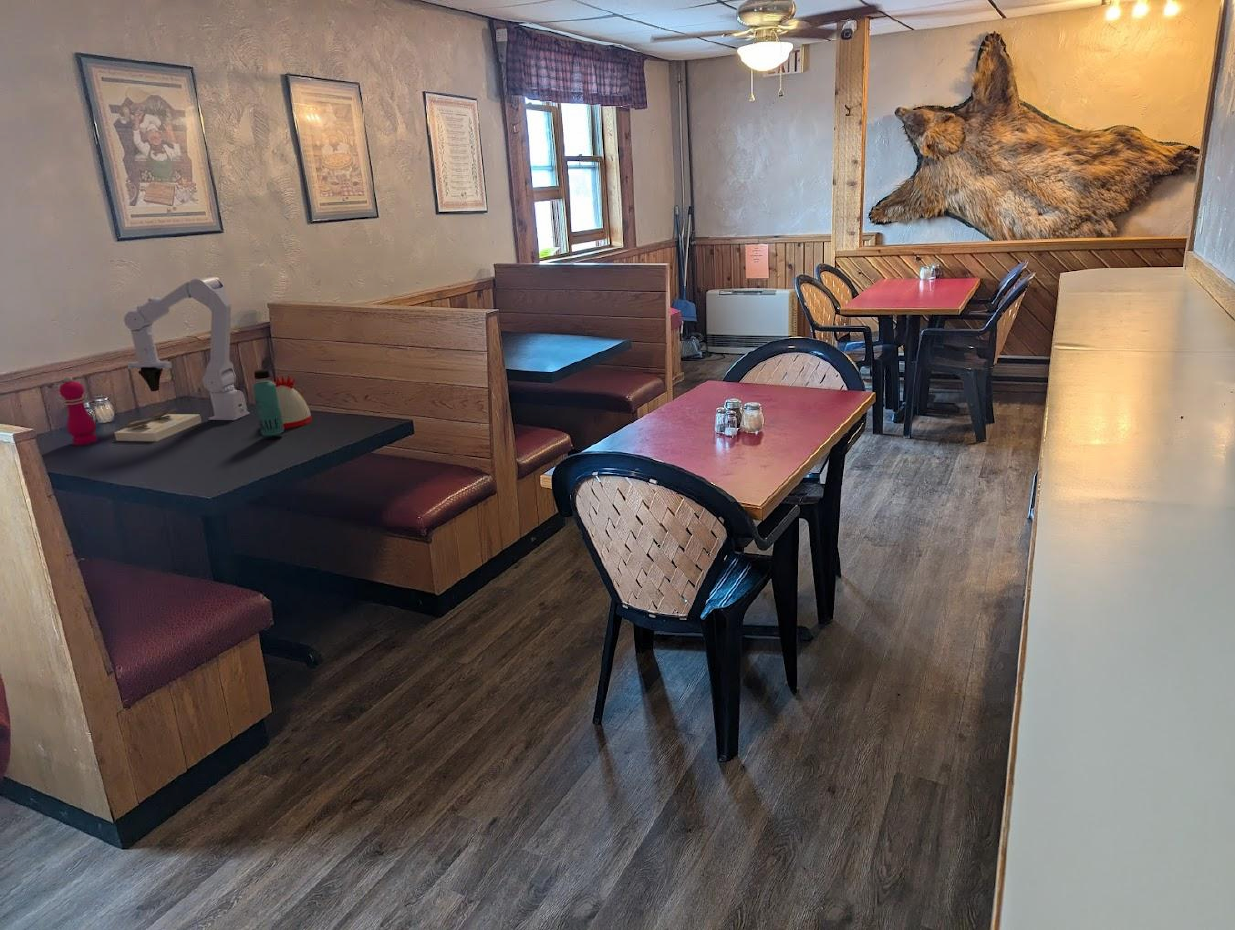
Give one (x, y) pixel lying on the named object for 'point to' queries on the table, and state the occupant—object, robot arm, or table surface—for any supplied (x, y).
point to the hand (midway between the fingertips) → (155, 390)
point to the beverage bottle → (267, 404)
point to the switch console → (158, 428)
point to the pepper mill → (78, 413)
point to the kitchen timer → (291, 404)
